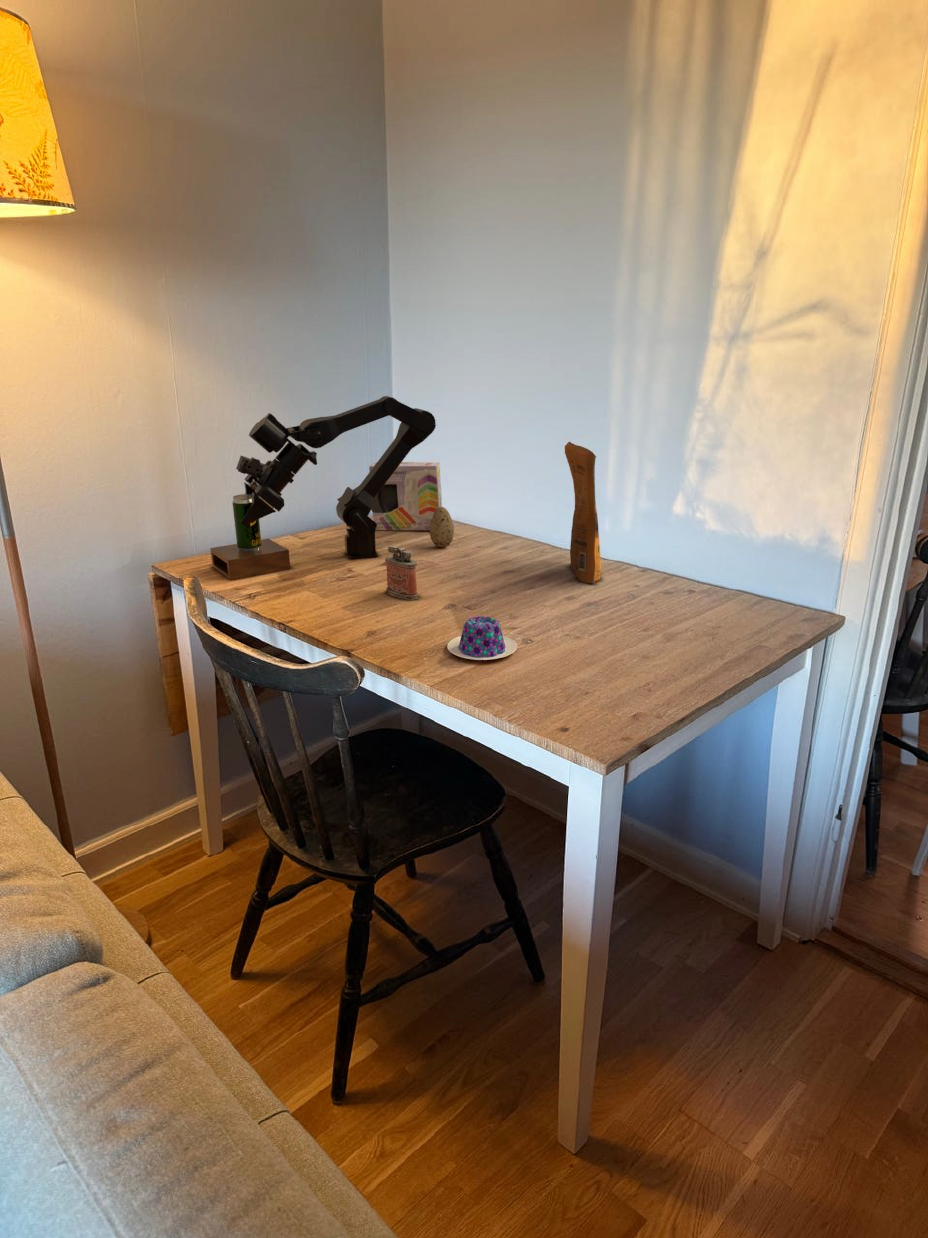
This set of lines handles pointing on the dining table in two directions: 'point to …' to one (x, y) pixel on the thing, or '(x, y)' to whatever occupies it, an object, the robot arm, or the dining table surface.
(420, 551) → the dining table surface
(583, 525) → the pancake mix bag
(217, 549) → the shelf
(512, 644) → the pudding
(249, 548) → the beer can
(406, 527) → the cake pan box
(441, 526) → the decorative egg
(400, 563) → the lighter
